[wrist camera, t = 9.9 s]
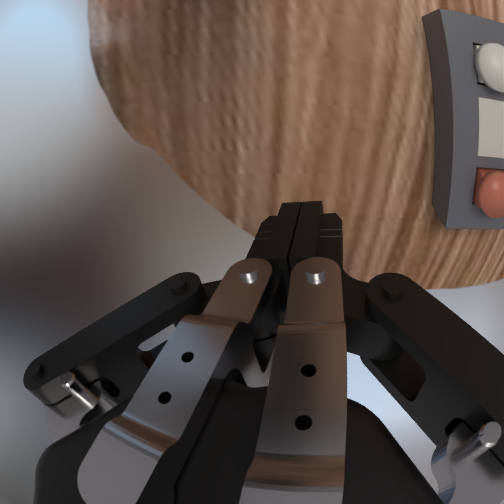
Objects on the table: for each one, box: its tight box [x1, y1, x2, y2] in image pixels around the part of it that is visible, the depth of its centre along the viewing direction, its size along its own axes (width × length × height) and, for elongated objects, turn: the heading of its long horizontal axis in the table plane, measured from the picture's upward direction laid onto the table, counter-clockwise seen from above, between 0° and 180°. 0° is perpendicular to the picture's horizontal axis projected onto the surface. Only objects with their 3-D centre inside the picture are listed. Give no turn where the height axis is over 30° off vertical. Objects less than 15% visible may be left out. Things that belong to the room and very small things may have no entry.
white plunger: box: [473, 43, 504, 92], centre depth 19 cm, size 6×6×8 cm
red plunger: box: [473, 167, 504, 218], centre depth 26 cm, size 6×6×8 cm
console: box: [422, 9, 504, 229], centre depth 24 cm, size 27×12×7 cm, turn 12°
